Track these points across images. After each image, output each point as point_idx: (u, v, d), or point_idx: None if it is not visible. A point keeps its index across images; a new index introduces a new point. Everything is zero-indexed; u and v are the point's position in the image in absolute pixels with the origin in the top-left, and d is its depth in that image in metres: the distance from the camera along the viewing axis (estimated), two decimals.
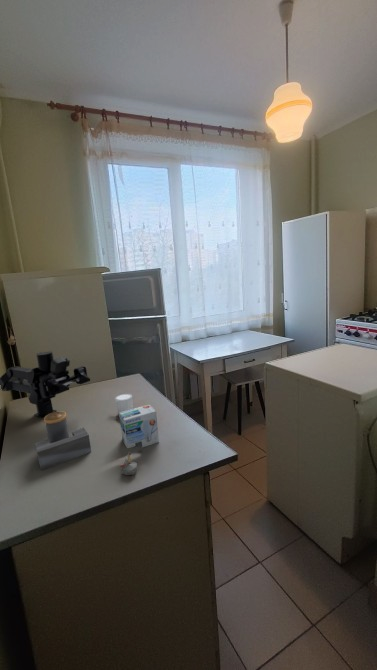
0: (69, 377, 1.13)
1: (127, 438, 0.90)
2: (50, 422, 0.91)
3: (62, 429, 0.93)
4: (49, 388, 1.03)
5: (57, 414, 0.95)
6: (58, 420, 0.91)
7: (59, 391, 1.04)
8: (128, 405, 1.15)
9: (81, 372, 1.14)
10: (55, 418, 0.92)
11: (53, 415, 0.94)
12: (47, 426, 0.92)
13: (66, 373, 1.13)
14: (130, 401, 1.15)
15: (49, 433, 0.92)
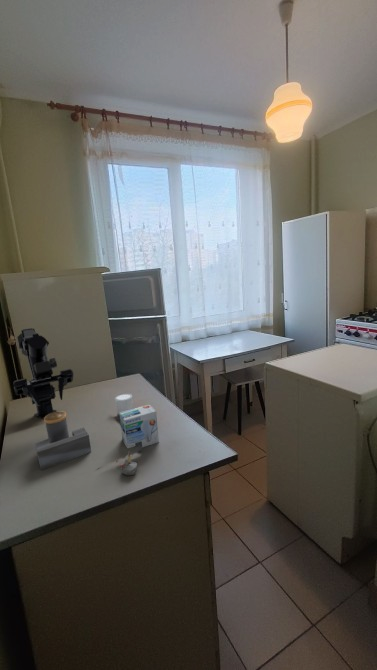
0: (52, 377, 1.05)
1: (127, 438, 0.90)
2: (50, 422, 0.91)
3: (62, 429, 0.93)
4: (24, 391, 0.99)
5: (57, 414, 0.95)
6: (58, 420, 0.91)
7: (32, 398, 1.00)
8: (128, 405, 1.15)
9: (60, 382, 1.04)
10: (55, 418, 0.92)
11: (53, 415, 0.94)
12: (47, 426, 0.92)
13: (49, 374, 1.04)
14: (130, 401, 1.15)
15: (49, 433, 0.92)
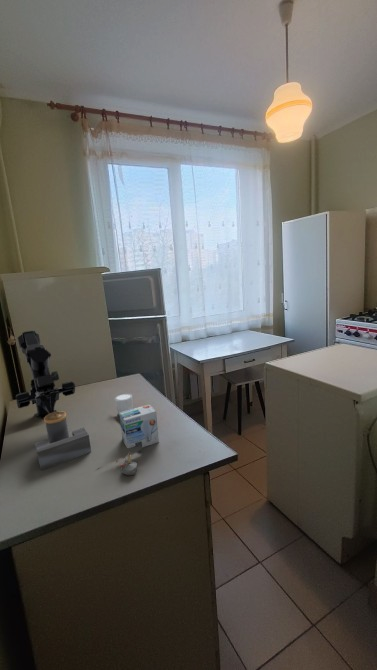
0: None
1: (127, 438, 0.90)
2: (50, 422, 0.91)
3: (62, 429, 0.93)
4: (37, 401, 1.01)
5: (57, 414, 0.95)
6: (58, 420, 0.91)
7: (45, 408, 1.02)
8: (128, 405, 1.15)
9: (52, 397, 1.02)
10: (55, 418, 0.92)
11: (53, 415, 0.94)
12: (47, 426, 0.92)
13: (51, 387, 1.04)
14: (130, 401, 1.15)
15: (49, 433, 0.92)
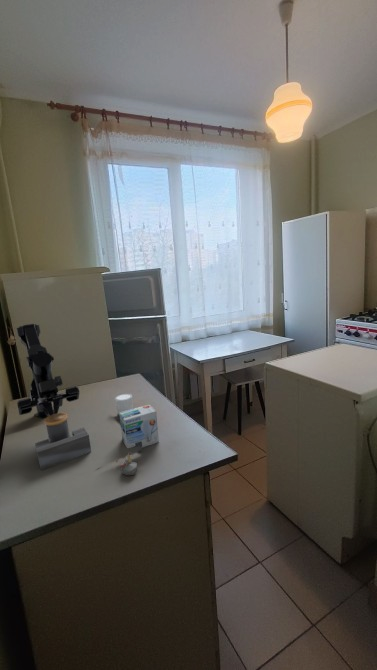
0: None
1: (127, 438, 0.90)
2: (51, 424, 0.89)
3: (63, 431, 0.91)
4: (40, 408, 0.97)
5: (58, 416, 0.93)
6: (59, 422, 0.90)
7: (48, 415, 0.97)
8: (128, 405, 1.15)
9: (55, 403, 0.97)
10: (56, 420, 0.90)
11: (54, 417, 0.92)
12: (48, 428, 0.90)
13: (54, 392, 0.99)
14: (130, 401, 1.15)
15: (50, 435, 0.90)
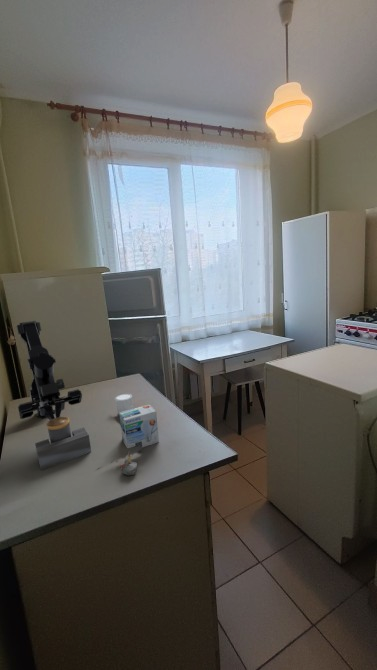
0: None
1: (127, 438, 0.90)
2: (53, 428, 0.86)
3: (65, 435, 0.88)
4: (41, 411, 0.94)
5: (60, 419, 0.90)
6: (61, 426, 0.87)
7: (50, 419, 0.95)
8: (128, 405, 1.15)
9: (57, 407, 0.95)
10: (58, 424, 0.88)
11: (56, 421, 0.89)
12: (50, 432, 0.87)
13: (56, 396, 0.96)
14: (130, 401, 1.15)
15: (52, 440, 0.88)
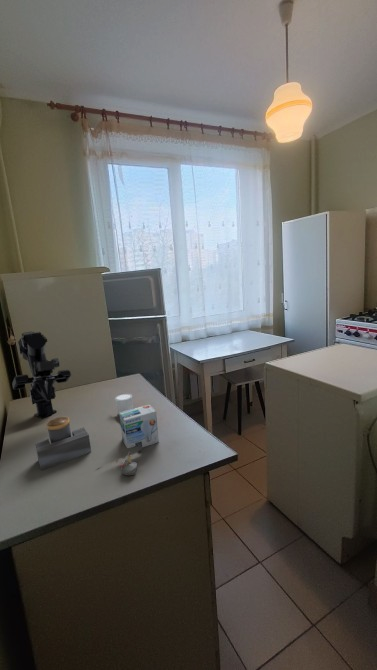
0: None
1: (127, 438, 0.90)
2: (53, 428, 0.86)
3: (65, 435, 0.88)
4: (34, 385, 1.04)
5: (60, 419, 0.90)
6: (61, 426, 0.87)
7: (40, 393, 1.05)
8: (128, 405, 1.15)
9: (49, 383, 1.06)
10: (58, 424, 0.88)
11: (56, 421, 0.89)
12: (50, 432, 0.87)
13: (49, 373, 1.08)
14: (130, 401, 1.15)
15: (52, 440, 0.88)
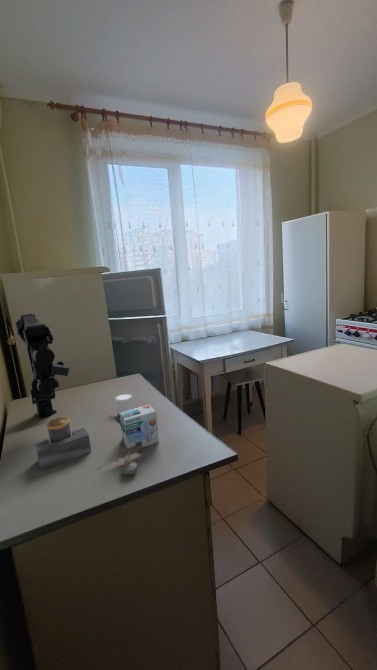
0: None
1: (127, 438, 0.90)
2: (53, 428, 0.86)
3: (65, 435, 0.88)
4: None
5: (60, 419, 0.90)
6: (61, 426, 0.87)
7: (44, 394, 1.04)
8: (128, 405, 1.15)
9: None
10: (58, 424, 0.88)
11: (56, 421, 0.89)
12: (50, 432, 0.87)
13: None
14: (130, 401, 1.15)
15: (52, 440, 0.88)
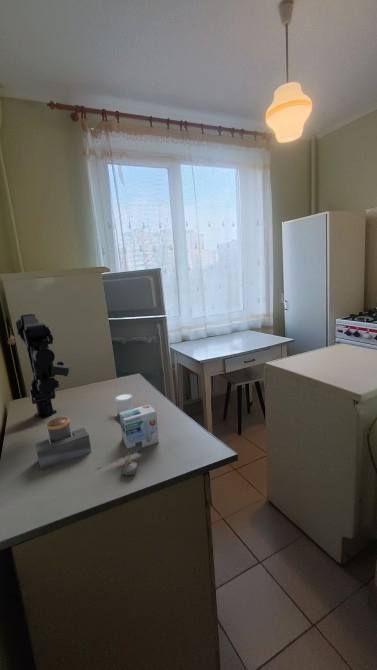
0: None
1: (127, 438, 0.90)
2: (53, 428, 0.86)
3: (65, 435, 0.88)
4: None
5: (60, 419, 0.90)
6: (61, 426, 0.87)
7: (44, 394, 1.04)
8: (128, 405, 1.15)
9: None
10: (58, 424, 0.88)
11: (56, 421, 0.89)
12: (50, 432, 0.87)
13: None
14: (130, 401, 1.15)
15: (52, 440, 0.88)
